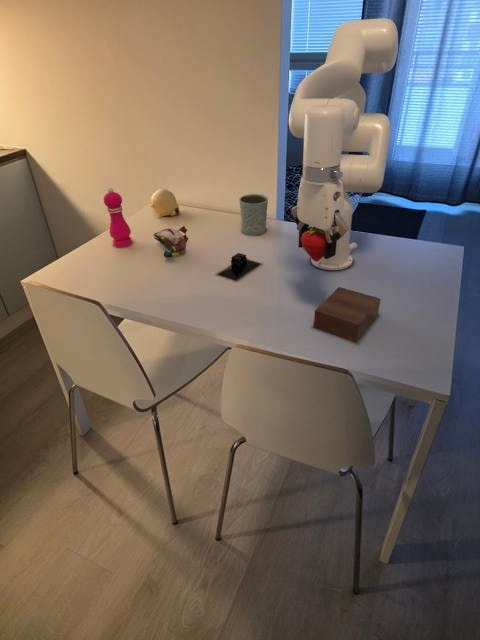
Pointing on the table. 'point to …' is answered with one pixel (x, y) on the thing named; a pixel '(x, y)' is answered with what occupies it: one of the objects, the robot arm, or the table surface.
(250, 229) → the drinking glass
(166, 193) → the beige rounded lump
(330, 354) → the table surface
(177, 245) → the decorative duck model
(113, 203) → the pepper mill
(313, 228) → the strawberry
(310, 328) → the table surface
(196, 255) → the table surface
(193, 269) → the table surface
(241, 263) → the build plate
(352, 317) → the walnut block
